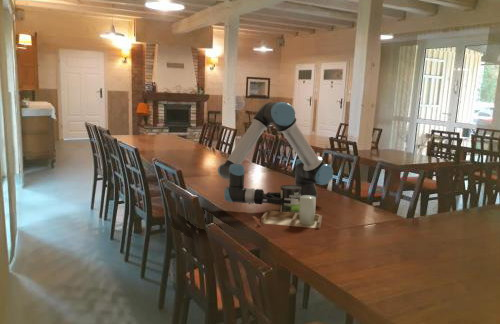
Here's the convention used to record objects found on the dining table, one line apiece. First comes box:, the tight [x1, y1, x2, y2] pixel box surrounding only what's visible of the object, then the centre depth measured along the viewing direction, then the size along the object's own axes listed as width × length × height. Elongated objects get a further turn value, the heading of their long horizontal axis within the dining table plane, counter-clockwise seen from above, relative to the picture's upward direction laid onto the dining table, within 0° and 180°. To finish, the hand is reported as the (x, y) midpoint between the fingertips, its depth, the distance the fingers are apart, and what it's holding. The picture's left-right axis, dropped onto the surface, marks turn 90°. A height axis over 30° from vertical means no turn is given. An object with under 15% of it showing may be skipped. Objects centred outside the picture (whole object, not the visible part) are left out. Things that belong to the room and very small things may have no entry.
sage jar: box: [299, 195, 317, 226], centre depth 177 cm, size 7×7×12 cm
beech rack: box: [260, 210, 323, 229], centre depth 180 cm, size 26×13×4 cm, turn 76°
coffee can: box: [279, 184, 302, 213], centre depth 195 cm, size 10×10×14 cm
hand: (299, 199), depth 194 cm, fingers closed on coffee can, 10 cm apart
